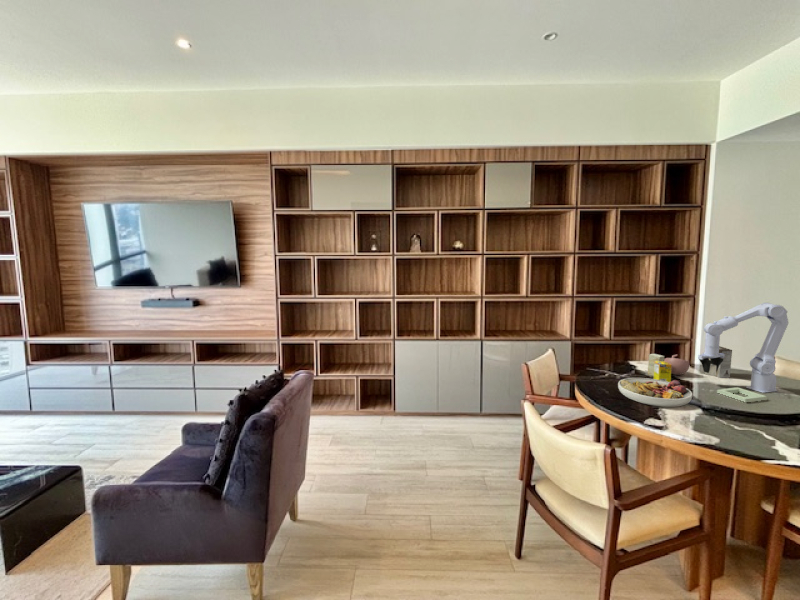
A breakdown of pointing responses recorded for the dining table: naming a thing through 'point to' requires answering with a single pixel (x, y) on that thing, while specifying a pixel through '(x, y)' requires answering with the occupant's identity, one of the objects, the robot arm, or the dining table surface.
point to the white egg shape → (711, 370)
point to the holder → (751, 395)
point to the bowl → (655, 392)
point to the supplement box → (662, 371)
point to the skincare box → (651, 362)
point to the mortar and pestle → (677, 365)
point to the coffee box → (724, 363)
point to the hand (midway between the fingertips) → (710, 371)
